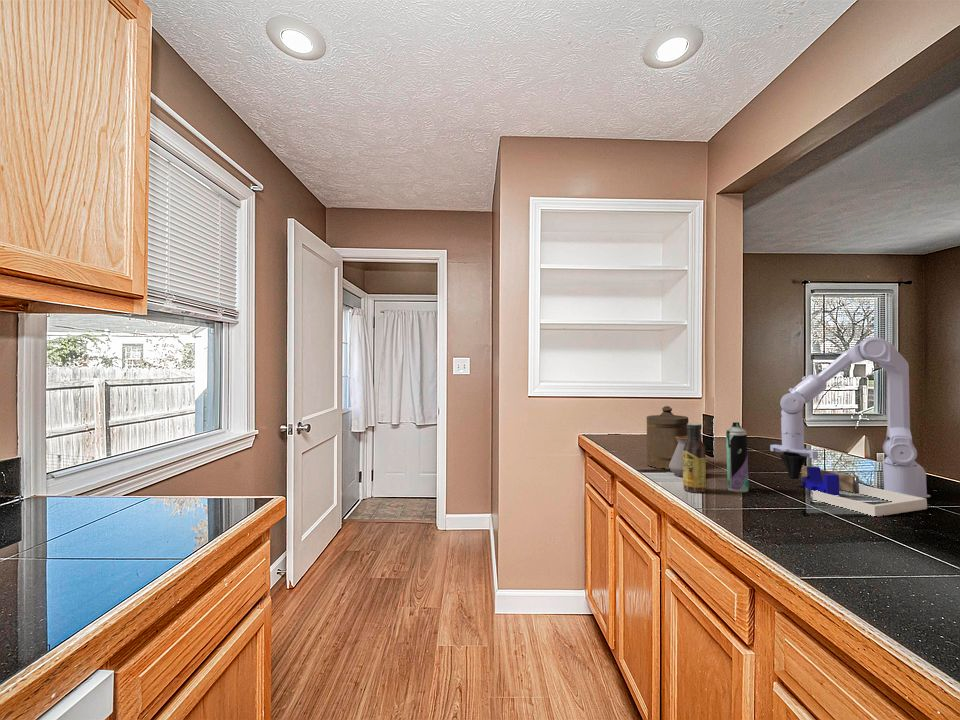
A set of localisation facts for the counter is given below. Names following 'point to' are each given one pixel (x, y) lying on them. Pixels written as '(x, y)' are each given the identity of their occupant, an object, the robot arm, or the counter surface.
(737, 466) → the spray can
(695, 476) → the sauce bottle
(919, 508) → the cream square rimmed piece
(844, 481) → the board
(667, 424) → the wooden container
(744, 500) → the counter surface
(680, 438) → the coffee pot
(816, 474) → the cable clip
